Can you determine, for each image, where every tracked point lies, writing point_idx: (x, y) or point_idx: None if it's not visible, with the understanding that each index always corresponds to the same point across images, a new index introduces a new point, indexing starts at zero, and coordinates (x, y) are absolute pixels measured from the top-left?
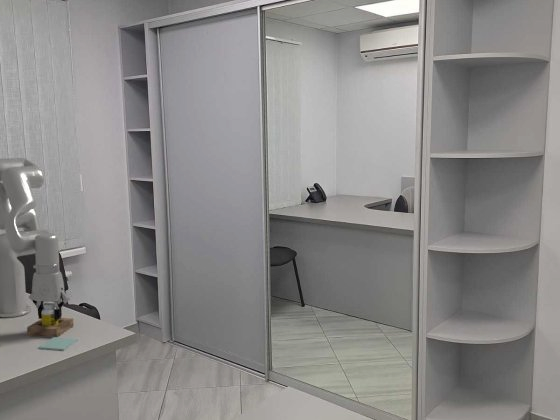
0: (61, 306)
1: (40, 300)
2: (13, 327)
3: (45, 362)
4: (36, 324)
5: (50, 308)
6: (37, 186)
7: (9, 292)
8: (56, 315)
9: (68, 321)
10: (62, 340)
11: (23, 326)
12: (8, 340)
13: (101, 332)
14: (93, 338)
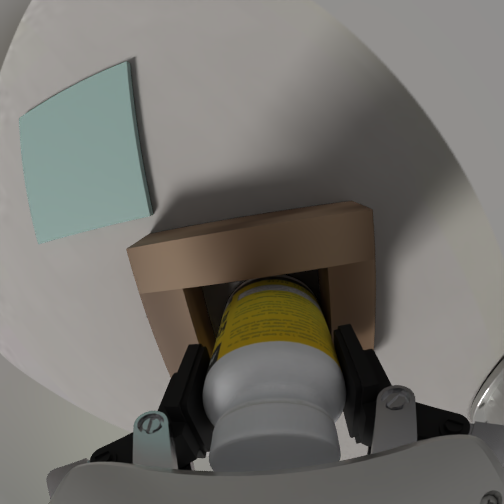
0: (132, 442)
1: (343, 469)
2: (477, 276)
3: (35, 15)
4: (343, 280)
5: (226, 413)
6: None
7: None
8: (182, 371)
9: None
10: (75, 194)
11: (446, 306)
12: (395, 100)
13: (48, 347)
14: (21, 283)
